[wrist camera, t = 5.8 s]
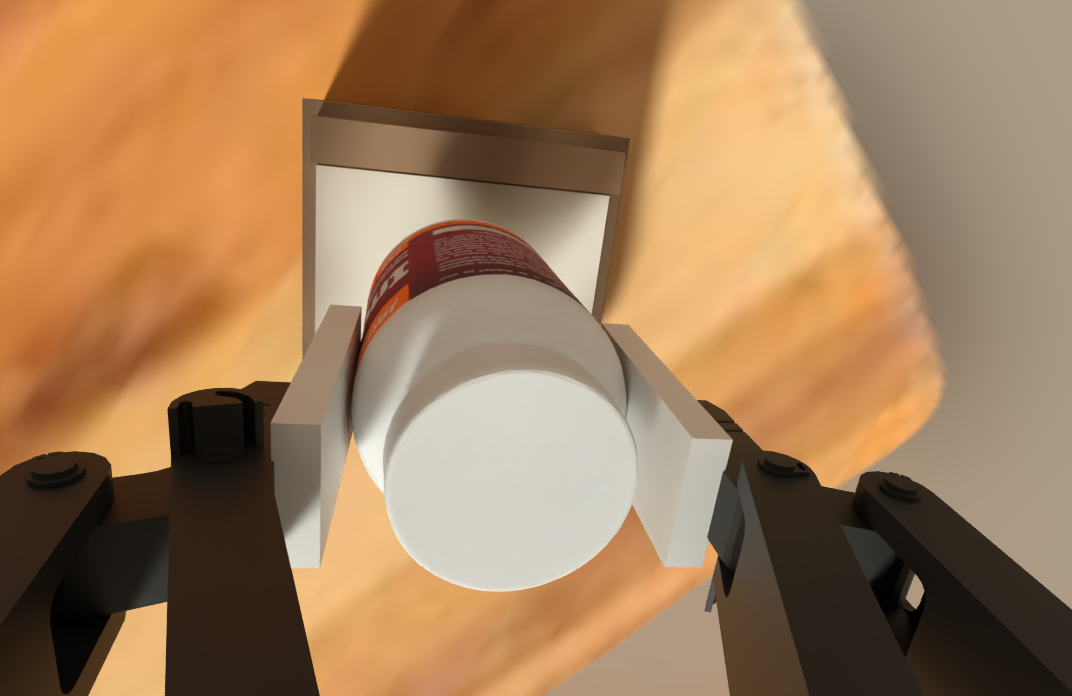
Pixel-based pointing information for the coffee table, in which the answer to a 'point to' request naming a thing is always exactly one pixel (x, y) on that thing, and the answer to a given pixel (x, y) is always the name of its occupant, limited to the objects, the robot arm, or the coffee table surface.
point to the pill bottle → (490, 410)
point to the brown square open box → (449, 195)
